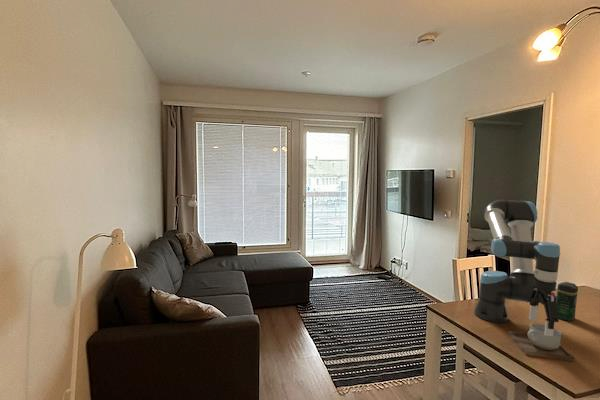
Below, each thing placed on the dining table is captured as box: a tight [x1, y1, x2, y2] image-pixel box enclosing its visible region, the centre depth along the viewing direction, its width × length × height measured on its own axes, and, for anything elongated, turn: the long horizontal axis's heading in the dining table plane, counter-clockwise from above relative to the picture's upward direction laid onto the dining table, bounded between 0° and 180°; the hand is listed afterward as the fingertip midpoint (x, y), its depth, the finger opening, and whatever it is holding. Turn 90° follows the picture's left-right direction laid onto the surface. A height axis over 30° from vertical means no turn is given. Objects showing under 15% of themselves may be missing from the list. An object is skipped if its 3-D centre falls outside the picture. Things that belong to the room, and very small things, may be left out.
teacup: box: [527, 322, 563, 350], centre depth 134 cm, size 14×11×8 cm
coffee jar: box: [556, 281, 579, 322], centre depth 165 cm, size 10×8×19 cm
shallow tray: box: [508, 330, 575, 363], centre depth 136 cm, size 17×17×2 cm
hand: (540, 327), depth 135 cm, fingers open, 13 cm apart
